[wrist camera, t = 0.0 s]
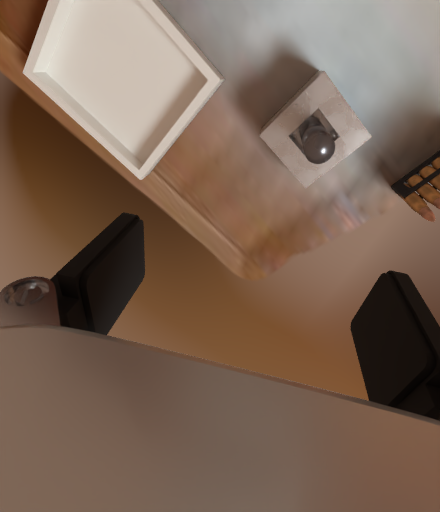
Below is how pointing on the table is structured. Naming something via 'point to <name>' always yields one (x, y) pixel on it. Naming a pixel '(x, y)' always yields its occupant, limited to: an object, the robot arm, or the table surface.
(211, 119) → the table surface
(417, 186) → the ammunition clip
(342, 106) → the block
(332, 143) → the pin
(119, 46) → the tray
